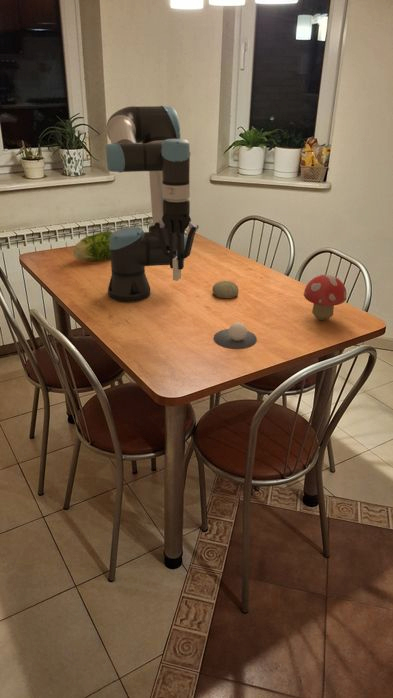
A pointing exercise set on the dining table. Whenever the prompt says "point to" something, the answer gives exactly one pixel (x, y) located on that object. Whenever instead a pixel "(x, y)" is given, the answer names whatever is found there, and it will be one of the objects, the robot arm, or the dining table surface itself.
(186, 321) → the dining table surface
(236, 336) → the ball
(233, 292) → the sea urchin shell
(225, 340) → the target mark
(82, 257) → the lettuce
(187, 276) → the dining table surface
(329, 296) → the decorative mushroom
